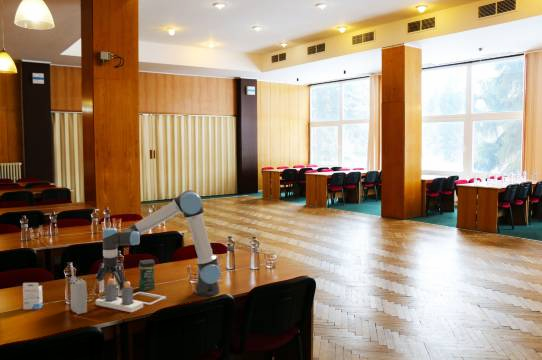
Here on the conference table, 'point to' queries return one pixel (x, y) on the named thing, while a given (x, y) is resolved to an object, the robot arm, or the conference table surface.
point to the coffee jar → (146, 275)
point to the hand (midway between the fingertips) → (111, 293)
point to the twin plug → (127, 294)
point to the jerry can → (78, 294)
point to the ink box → (32, 296)
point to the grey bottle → (110, 290)
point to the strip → (119, 304)
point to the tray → (150, 296)
